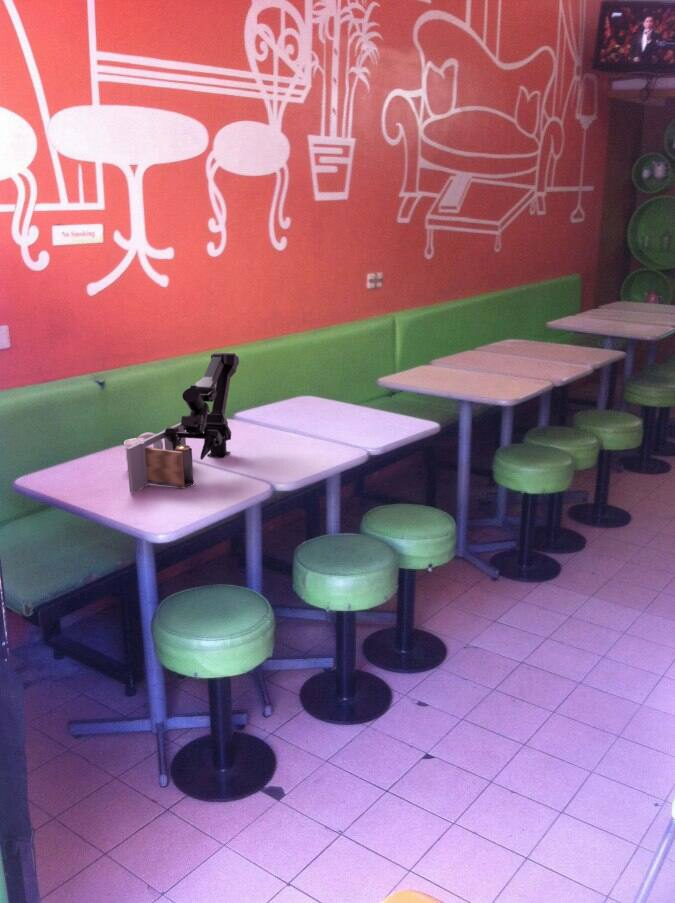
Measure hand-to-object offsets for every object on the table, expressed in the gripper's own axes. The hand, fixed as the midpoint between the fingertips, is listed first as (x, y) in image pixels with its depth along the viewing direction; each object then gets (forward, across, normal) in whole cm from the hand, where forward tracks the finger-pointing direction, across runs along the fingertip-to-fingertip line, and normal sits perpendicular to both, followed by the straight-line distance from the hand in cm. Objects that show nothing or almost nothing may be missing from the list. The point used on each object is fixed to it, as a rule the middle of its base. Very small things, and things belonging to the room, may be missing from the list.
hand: (188, 458), depth 284 cm
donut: (-8, -23, +20) cm, 31 cm away
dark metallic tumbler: (+8, 0, +3) cm, 9 cm away
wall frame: (+4, -11, +7) cm, 14 cm away
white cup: (0, -22, +12) cm, 25 cm away
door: (+10, -6, 0) cm, 12 cm away
